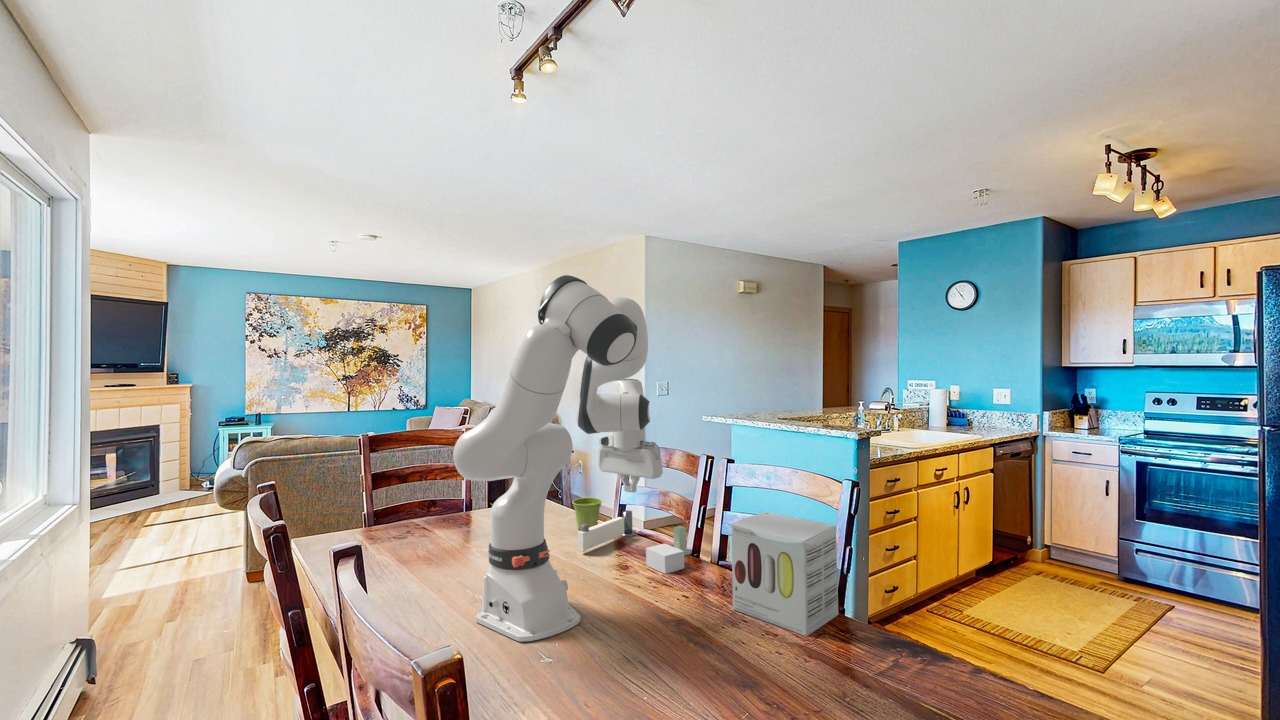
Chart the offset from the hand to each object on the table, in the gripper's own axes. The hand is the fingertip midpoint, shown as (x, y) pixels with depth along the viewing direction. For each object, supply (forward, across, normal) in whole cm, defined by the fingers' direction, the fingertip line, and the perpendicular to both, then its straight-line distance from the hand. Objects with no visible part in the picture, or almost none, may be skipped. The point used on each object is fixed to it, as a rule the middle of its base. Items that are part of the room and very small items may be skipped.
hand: (630, 491), depth 155 cm
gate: (+16, +12, -1) cm, 20 cm away
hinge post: (+17, +13, -13) cm, 25 cm away
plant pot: (+17, +28, -11) cm, 35 cm away
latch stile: (+17, -9, -9) cm, 21 cm away
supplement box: (+17, -48, +7) cm, 52 cm away
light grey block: (+17, -12, +1) cm, 21 cm away
